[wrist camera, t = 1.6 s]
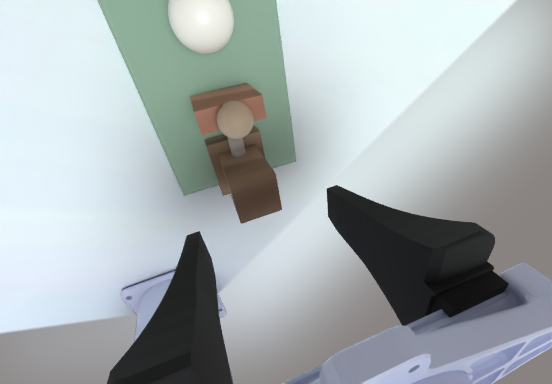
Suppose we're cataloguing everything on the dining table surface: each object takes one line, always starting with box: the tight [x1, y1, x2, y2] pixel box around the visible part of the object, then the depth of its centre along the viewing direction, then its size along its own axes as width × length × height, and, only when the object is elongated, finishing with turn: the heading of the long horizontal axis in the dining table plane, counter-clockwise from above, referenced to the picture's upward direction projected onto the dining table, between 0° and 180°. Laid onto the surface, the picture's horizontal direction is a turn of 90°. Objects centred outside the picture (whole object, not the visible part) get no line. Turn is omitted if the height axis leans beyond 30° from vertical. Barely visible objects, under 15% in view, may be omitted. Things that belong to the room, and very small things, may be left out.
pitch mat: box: [98, 0, 296, 195], centre depth 17 cm, size 19×10×1 cm, turn 9°
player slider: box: [190, 83, 282, 224], centre depth 18 cm, size 8×4×6 cm, turn 9°
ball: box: [168, 0, 234, 54], centre depth 14 cm, size 4×4×4 cm
